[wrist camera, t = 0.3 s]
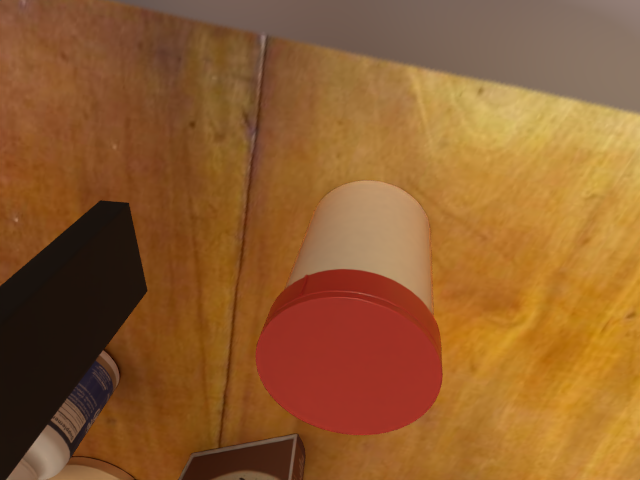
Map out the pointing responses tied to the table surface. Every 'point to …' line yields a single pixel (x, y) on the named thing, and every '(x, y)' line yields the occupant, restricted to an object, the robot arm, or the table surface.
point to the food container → (250, 461)
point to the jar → (369, 237)
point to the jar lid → (351, 352)
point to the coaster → (90, 470)
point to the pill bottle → (69, 423)
